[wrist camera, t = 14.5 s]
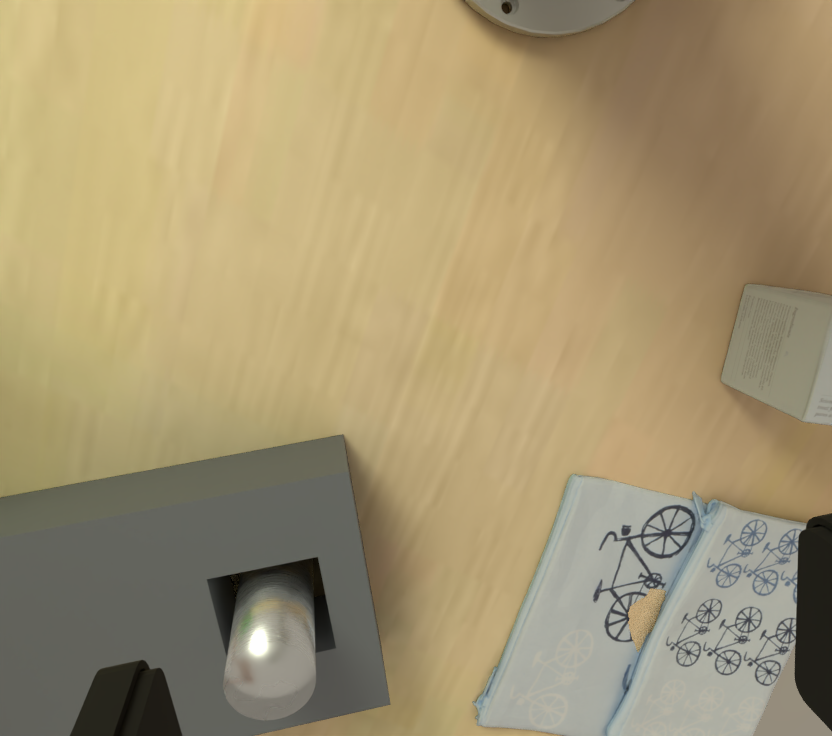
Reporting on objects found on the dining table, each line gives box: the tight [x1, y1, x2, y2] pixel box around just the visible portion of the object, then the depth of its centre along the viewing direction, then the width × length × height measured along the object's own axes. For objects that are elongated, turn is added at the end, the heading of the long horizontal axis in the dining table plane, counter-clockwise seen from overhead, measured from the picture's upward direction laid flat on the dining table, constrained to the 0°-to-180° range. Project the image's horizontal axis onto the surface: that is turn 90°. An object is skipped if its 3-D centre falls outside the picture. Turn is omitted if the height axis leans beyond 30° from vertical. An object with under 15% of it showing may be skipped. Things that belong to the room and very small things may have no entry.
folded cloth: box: [472, 474, 807, 736], centre depth 45 cm, size 19×20×2 cm
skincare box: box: [721, 284, 832, 425], centre depth 38 cm, size 6×6×7 cm
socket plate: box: [0, 435, 390, 736], centre depth 37 cm, size 22×14×5 cm, turn 98°
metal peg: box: [223, 558, 316, 720], centre depth 35 cm, size 4×4×10 cm
